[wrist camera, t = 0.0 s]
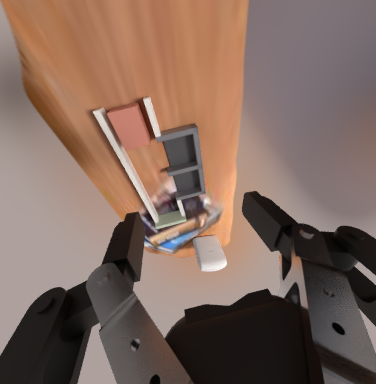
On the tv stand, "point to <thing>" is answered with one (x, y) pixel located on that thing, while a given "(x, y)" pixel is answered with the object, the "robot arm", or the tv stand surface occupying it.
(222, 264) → the photo printer
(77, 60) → the tv stand surface
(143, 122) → the red block
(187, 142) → the box
